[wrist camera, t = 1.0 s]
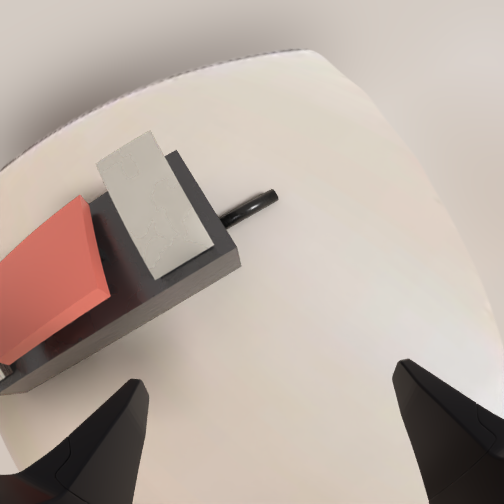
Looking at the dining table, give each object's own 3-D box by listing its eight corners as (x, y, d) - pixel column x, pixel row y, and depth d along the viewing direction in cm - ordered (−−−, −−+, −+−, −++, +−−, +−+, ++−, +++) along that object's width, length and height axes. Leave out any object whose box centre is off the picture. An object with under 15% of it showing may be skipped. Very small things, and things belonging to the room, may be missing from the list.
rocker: (110, 296, 16) (97, 287, 14) (8, 365, 14) (-4, 361, 13) (89, 205, 20) (80, 194, 19) (2, 276, 18) (-8, 269, 17)
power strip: (298, 231, 25) (320, 170, 16) (26, 392, 21) (-38, 398, 11) (241, 154, 28) (234, 78, 18) (1, 314, 23) (-59, 299, 14)
